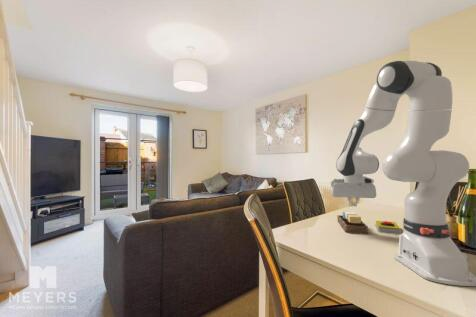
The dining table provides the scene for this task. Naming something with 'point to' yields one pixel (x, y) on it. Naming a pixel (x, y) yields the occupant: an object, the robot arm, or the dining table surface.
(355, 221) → the yellow block
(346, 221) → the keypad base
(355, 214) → the white block
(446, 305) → the dining table surface
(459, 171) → the robot arm
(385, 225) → the emergency button
